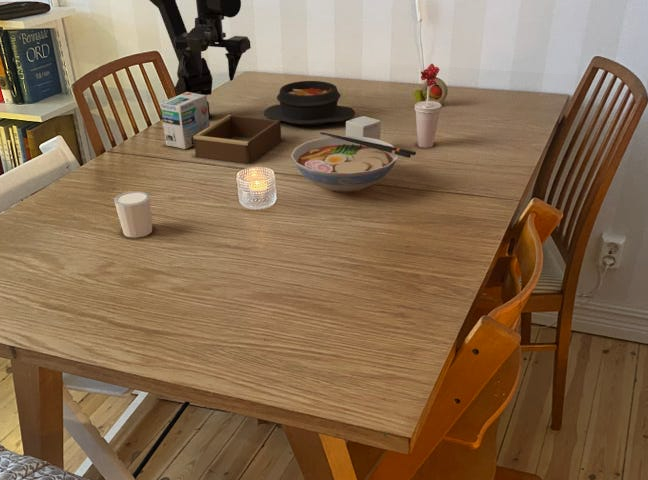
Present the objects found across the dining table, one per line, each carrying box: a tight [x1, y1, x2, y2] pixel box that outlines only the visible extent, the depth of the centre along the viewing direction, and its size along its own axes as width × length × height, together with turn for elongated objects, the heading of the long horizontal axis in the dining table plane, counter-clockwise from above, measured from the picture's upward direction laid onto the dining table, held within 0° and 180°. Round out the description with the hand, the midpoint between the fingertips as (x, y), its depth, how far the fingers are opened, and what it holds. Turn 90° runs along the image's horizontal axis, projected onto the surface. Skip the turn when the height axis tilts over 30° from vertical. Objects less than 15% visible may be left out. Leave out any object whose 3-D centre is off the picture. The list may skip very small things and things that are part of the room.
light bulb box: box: [159, 92, 211, 150], centre depth 184 cm, size 11×7×11 cm, turn 148°
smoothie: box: [413, 85, 442, 149], centre depth 176 cm, size 6×6×14 cm
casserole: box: [262, 80, 356, 127], centre depth 196 cm, size 25×19×8 cm
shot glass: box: [113, 191, 153, 239], centre depth 143 cm, size 7×7×7 cm
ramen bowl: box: [290, 131, 417, 193], centre depth 158 cm, size 25×23×8 cm
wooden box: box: [193, 114, 282, 165], centre depth 181 cm, size 15×18×5 cm
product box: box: [345, 115, 382, 140], centre depth 176 cm, size 6×6×7 cm
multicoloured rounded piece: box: [412, 63, 449, 105], centre depth 203 cm, size 6×11×9 cm
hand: (215, 78), depth 187 cm, fingers open, 9 cm apart
